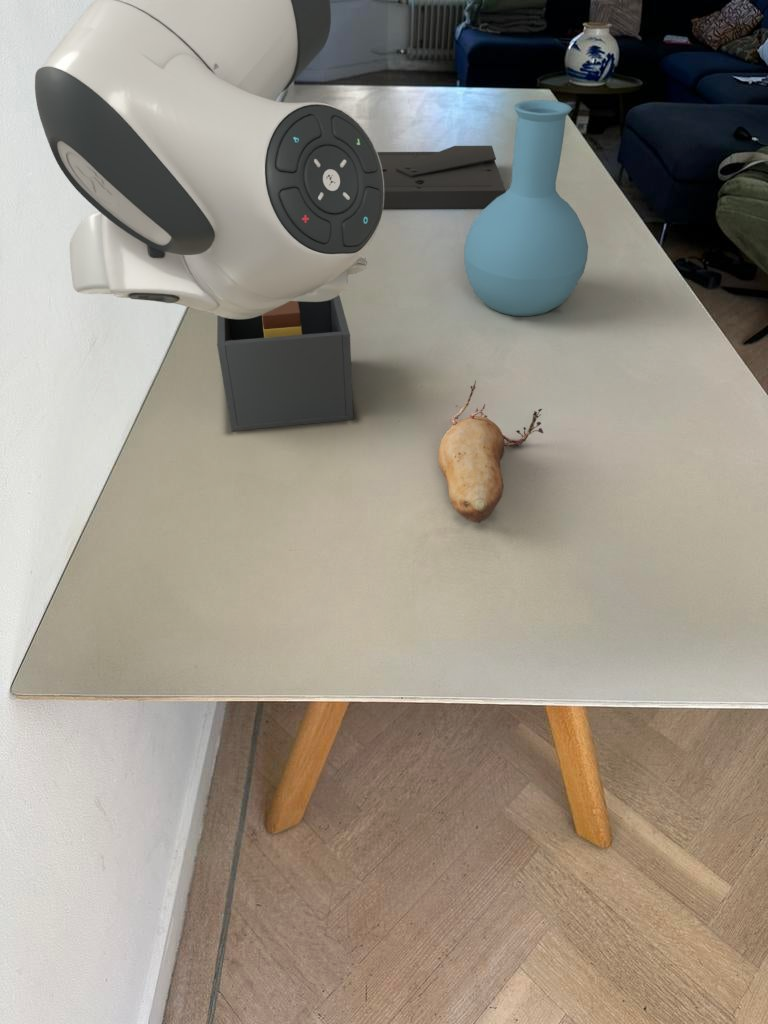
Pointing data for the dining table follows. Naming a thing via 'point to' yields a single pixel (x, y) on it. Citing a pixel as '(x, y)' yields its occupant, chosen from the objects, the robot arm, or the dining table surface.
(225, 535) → the dining table surface
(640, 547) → the dining table surface
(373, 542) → the dining table surface
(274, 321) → the chocolate box
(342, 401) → the gray open box
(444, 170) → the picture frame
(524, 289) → the vase
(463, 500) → the vegetable
